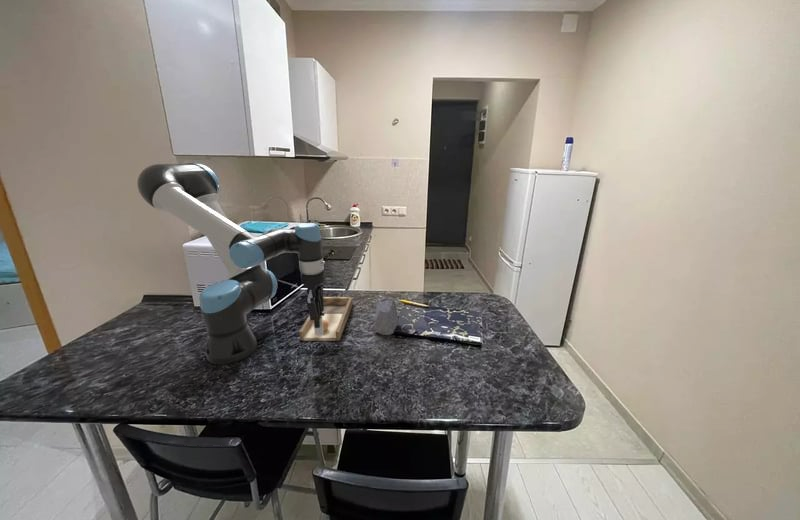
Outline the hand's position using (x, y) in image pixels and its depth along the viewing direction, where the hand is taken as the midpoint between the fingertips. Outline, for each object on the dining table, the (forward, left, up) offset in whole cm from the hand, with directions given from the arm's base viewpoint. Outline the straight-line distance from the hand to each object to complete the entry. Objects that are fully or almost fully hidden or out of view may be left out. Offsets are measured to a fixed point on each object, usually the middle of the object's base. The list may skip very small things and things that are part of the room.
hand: (319, 333), depth 107 cm
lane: (0, +14, -3) cm, 14 cm away
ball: (0, +5, 0) cm, 5 cm away
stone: (+23, +8, -3) cm, 24 cm away
